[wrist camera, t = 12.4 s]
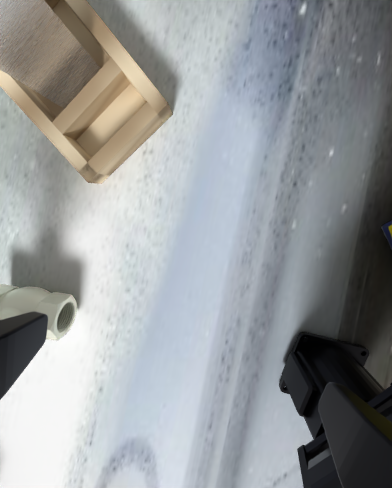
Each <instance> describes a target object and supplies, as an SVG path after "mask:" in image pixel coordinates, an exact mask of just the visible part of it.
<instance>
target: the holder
mask: <svg viewBox="0 0 392 488" xmlns="http://www.w3.org/2000/svg"><path fill="white" fill-rule="evenodd" d="M45 2H46V3H47V4H48V5H49V6H50V8H51V9H52V10H53V11H54V12H55V14H56V15H57V16H58V17H59V18H60V20H61V21H62V22H63V23H64V25H65V26H66V27H67V28H68V29H69V31H70V32H71V33H72V34H73V35H74V37H75V38H76V39H77V40H78V41H79V43H80V44H81V45H82V46H83V48H84V49H85V50H86V51H87V52H88V54H89V55H90V56H91V57H92V58H93V60H94V61H95V62H96V63H97V65H98V66H99V67H100V68H101V69H100V70H99V71H98V72H97V74H96V75H95V76H94V77H93V78H92V79H91V80H90V81H89V82H88V83H87V85H86V86H85V87H84V88H83V89H82V90H81V91H80V92H79V93H78V94H77V96H76V97H75V98H74V99H73V100H72V101H71V102H70V103H69V104H68V105H67V106H66V108H65V109H64V108H62V107H61V106H59V105H58V104H56V103H54V102H53V101H51V100H49V99H48V98H46V97H44V96H43V95H41V94H39V93H38V92H36V91H35V90H33V89H31V88H30V87H28V86H26V85H25V84H23V83H21V82H20V81H18V80H16V79H15V78H13V77H11V76H10V75H8V74H7V73H5V72H3V71H2V70H0V86H1V87H2V88H3V90H4V91H5V92H6V93H7V94H8V95H9V96H10V97H11V98H12V99H13V101H14V102H15V103H16V104H17V105H18V106H19V107H20V108H21V109H22V111H23V112H24V113H25V114H26V115H27V116H28V117H29V118H30V119H31V120H32V122H33V123H34V124H35V125H36V126H37V127H38V128H39V129H40V130H41V131H42V133H43V134H44V135H45V136H46V137H47V138H48V139H49V140H50V141H51V142H52V144H53V145H54V146H55V147H56V148H57V149H58V150H59V151H60V152H61V154H62V155H63V156H64V157H65V158H66V159H67V160H68V161H69V162H70V163H71V165H72V166H73V167H74V168H75V169H76V170H77V171H78V172H79V173H80V174H81V176H82V177H83V178H84V179H85V180H86V181H87V182H88V183H97V184H102V183H103V182H104V181H105V180H106V179H107V178H108V177H109V176H110V175H111V174H112V173H113V172H114V171H115V170H116V169H117V168H118V167H119V166H120V165H121V164H122V163H123V162H124V161H125V160H126V159H127V158H128V157H129V156H131V155H132V154H133V153H134V152H135V151H136V150H137V149H138V148H139V147H140V146H141V145H142V144H143V143H144V142H145V141H146V140H147V139H148V138H149V137H150V136H151V135H152V134H153V133H154V132H155V131H156V130H157V129H158V128H159V127H160V126H161V125H162V124H163V123H164V122H165V121H166V120H168V119H169V118H170V117H171V116H172V115H173V114H172V111H171V109H170V107H169V104H168V102H167V101H166V100H165V99H164V97H163V96H162V95H161V94H160V92H159V91H158V90H157V89H156V87H155V86H154V85H153V84H152V82H151V81H150V80H149V79H148V77H147V76H146V75H145V74H144V72H143V71H142V70H141V68H140V67H139V66H138V65H137V63H136V62H135V61H134V60H133V58H132V57H131V56H130V55H129V53H128V52H127V51H126V50H125V48H124V47H123V46H122V45H121V43H120V42H119V41H118V40H117V38H116V37H115V36H114V35H113V33H112V32H111V31H110V30H109V28H108V27H107V26H106V24H105V23H104V22H103V21H102V19H101V18H100V17H99V16H98V14H97V13H96V12H95V11H94V9H93V8H92V7H91V6H90V4H89V3H88V2H87V1H86V0H45Z"/></svg>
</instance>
